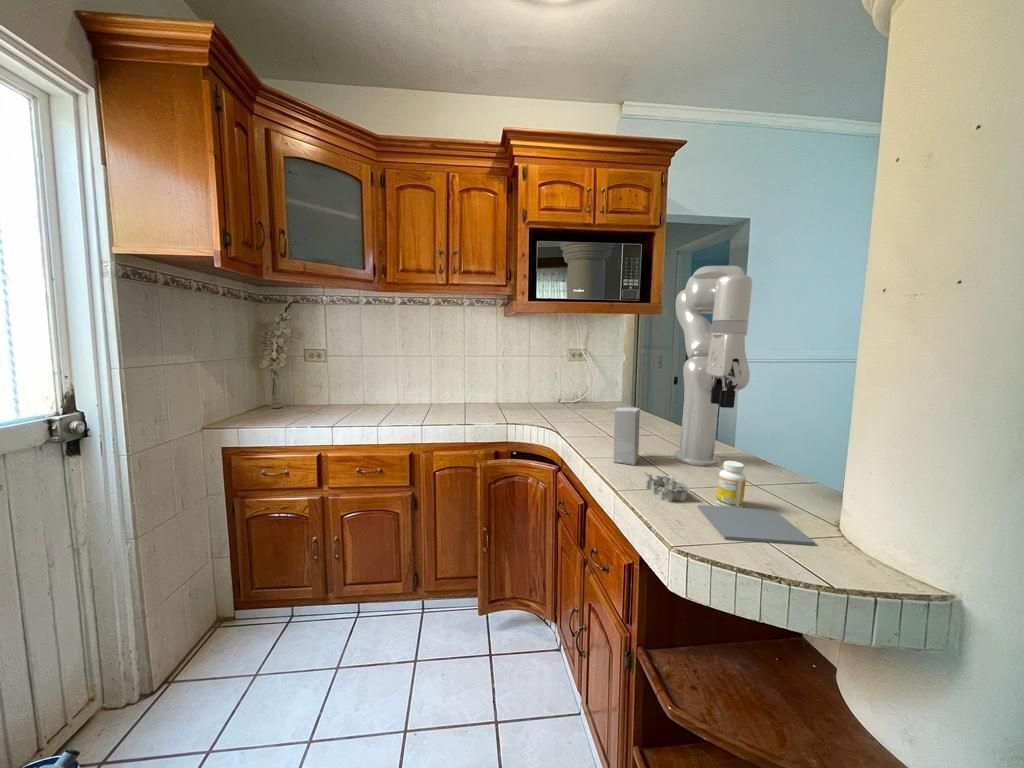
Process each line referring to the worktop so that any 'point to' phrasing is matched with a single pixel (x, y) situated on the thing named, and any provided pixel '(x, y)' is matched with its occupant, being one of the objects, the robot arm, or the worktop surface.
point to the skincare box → (626, 435)
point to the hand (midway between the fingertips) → (721, 404)
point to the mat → (753, 525)
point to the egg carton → (667, 488)
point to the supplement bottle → (731, 485)
